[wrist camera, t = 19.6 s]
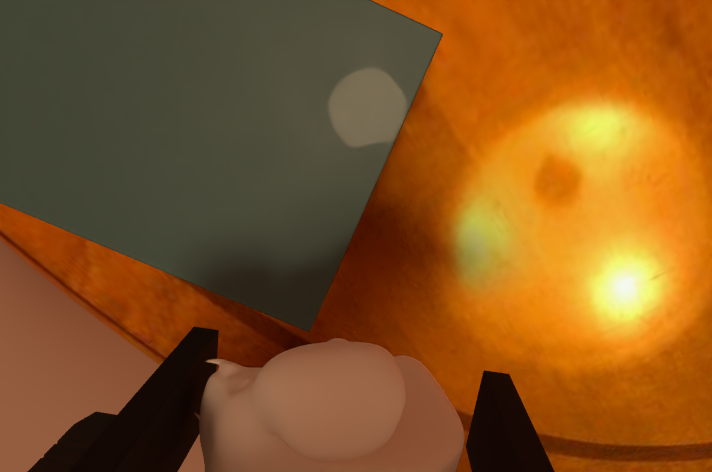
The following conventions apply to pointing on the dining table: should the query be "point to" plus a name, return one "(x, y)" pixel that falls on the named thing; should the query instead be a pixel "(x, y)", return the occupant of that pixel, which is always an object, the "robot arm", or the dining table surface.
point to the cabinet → (208, 132)
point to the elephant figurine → (329, 414)
